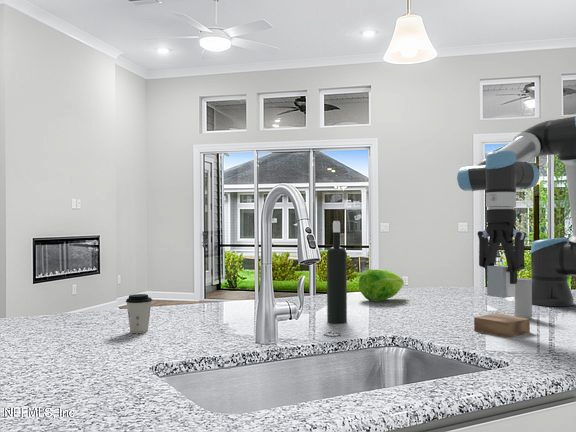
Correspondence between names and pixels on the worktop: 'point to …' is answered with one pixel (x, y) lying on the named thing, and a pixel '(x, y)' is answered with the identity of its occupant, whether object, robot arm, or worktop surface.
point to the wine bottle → (336, 280)
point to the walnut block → (502, 325)
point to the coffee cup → (138, 312)
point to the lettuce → (379, 284)
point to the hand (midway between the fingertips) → (501, 294)
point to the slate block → (496, 281)
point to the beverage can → (523, 298)
